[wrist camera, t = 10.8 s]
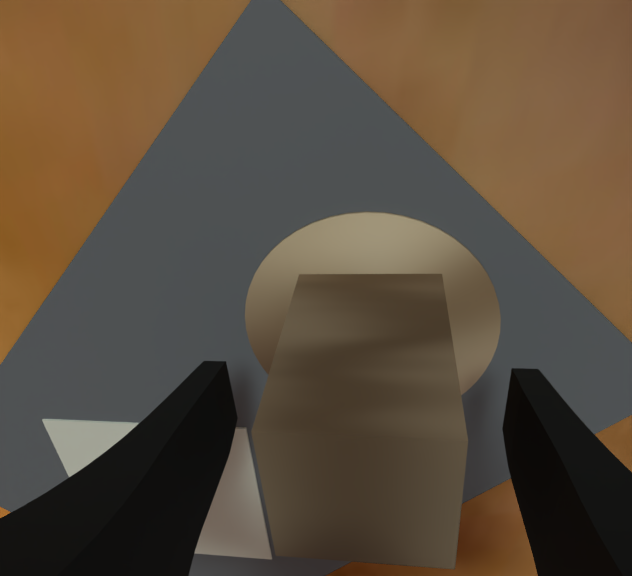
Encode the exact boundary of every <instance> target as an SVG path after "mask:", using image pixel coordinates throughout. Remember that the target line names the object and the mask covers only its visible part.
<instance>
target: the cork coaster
mask: <svg viewBox="0 0 632 576" xmlns="http://www.w3.org/2000/svg"><path fill="white" fill-rule="evenodd" d="M299 274H442V277H443V283H444V289H445V296H446V302H447V309H448V315H449V321H450V328H451V334H452V340H453V347H454V353H455V360H456V366H457V372H458V379H459V385H460V391H461V395H462V394H464V393H465V392H466V391H467V390H469V389H470V388H471V387H472V386H473V385H474V384H475V383H476V382H477V381H478V379H479V378H480V377H481V376H482V374H483V373H484V372H485V370H486V369H487V367H488V365H489V363H490V362H491V360H492V358H493V355H494V353H495V350H496V348H497V344H498V340H499V335H500V324H501V316H500V308H499V302H498V299H497V296H496V292H495V289H494V286H493V284H492V282H491V280H490V278H489V276H488V274H487V272H486V271H485V269H484V268H483V266H482V265H481V263H480V262H479V260H478V259H477V258H476V257H475V256H474V255H473V254H472V253H471V252H470V251H469V250H468V249H467V248H466V247H465V246H464V245H463V244H461V243H460V242H459V241H458V240H456V239H455V238H454V237H453V236H451V235H449V234H448V233H446V232H444V231H443V230H441V229H439V228H437V227H435V226H433V225H430V224H428V223H426V222H424V221H421V220H418V219H415V218H411V217H408V216H404V215H399V214H393V213H387V212H370V211H363V212H351V213H344V214H339V215H334V216H329V217H326V218H323V219H320V220H317V221H314V222H312V223H310V224H308V225H306V226H304V227H302V228H300V229H298V230H296V231H295V232H293V233H292V234H290V235H289V236H287V237H286V238H284V239H283V240H282V241H281V242H280V243H279V244H277V245H276V246H275V247H274V248H273V249H272V250H271V251H270V252H269V254H268V255H267V256H266V257H265V258H264V260H263V261H262V262H261V264H260V266H259V268H258V269H257V271H256V273H255V275H254V277H253V279H252V282H251V284H250V287H249V289H248V294H247V298H246V304H245V323H246V331H247V335H248V339H249V342H250V345H251V347H252V350H253V352H254V354H255V356H256V358H257V359H258V361H259V363H260V365H261V366H262V367H263V369H264V370H265V371H266V373H267V374H268V375H269V372H270V368H271V365H272V362H273V359H274V355H275V352H276V349H277V345H278V342H279V339H280V335H281V332H282V329H283V326H284V322H285V319H286V316H287V312H288V309H289V306H290V303H291V299H292V296H293V293H294V289H295V286H296V283H297V280H298V276H299Z"/></svg>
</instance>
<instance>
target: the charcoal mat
mask: <svg viewBox="0 0 632 576" xmlns="http://www.w3.org/2000/svg"><path fill="white" fill-rule="evenodd" d="M363 211H370V212H387V213H393V214H399V215H404V216H408V217H411V218H415V219H418V220H421V221H424V222H426V223H428V224H430V225H433V226H435V227H437V228H439V229H441V230H443V231H444V232H446V233H448V234H449V235H451V236H453V237H454V238H455V239H456V240H458V241H459V242H460V243H461V244H463V245H464V246H465V247H466V248H467V249H468V250H469V251H470V252H471V253H472V254H473V255H474V256H475V257H476V258H477V259H478V260H479V262H480V263H481V265H482V266H483V268H484V269H485V271H486V272H487V274H488V276H489V278H490V280H491V282H492V284H493V286H494V289H495V292H496V296H497V299H498V302H499V308H500V316H501V324H500V335H499V340H498V344H497V348H496V350H495V353H494V355H493V358H492V360H491V362H490V363H489V365H488V367H487V369H486V370H485V372H484V373H483V374H482V376H481V377H480V378H479V379H478V381H477V382H476V383H475V384H474V385H473V386H472V387H471V388H470V389H469V390H467V391H466V392H465V393H464V394H462V395H461V398H462V404H463V410H464V417H465V423H466V430H467V436H468V448H467V457H466V467H465V477H464V486H463V496H462V503H464V502H466V501H468V500H470V499H472V498H474V497H476V496H478V495H480V494H482V493H483V492H485V491H487V490H489V489H491V488H493V487H495V486H497V485H499V484H501V483H502V482H504V481H506V480H508V479H510V478H511V476H510V472H509V468H508V463H507V457H506V451H505V444H504V437H503V430H502V427H503V421H504V414H505V408H506V402H507V395H508V389H509V382H510V376H511V369H512V368H524V369H539V370H540V371H541V372H542V373H543V375H544V376H545V377H546V378H547V380H548V381H549V382H550V383H551V385H552V386H553V387H554V388H555V390H556V391H557V392H558V393H559V395H560V396H561V397H562V398H563V399H564V401H565V402H566V403H567V404H568V405H569V407H570V408H571V409H572V410H573V411H574V412H575V414H576V415H577V416H578V417H579V418H580V419H581V420H582V421H583V423H584V424H585V425H586V426H587V427H588V428H589V429H590V430H591V431H592V433H593V434H596V433H598V432H600V431H602V430H603V429H605V428H607V427H609V426H611V425H613V424H615V423H617V422H619V421H621V420H622V419H624V418H626V417H628V416H630V415H632V343H631V342H630V341H629V340H628V339H627V338H626V337H625V336H624V335H623V334H622V333H621V332H620V331H619V330H618V329H617V328H616V327H615V326H614V325H613V324H612V323H611V322H610V321H609V320H608V319H607V318H606V317H605V316H604V315H603V314H602V313H601V312H600V311H599V310H597V309H596V308H595V307H594V306H593V305H592V304H591V303H590V302H589V301H588V300H587V299H586V298H585V297H584V296H583V295H582V294H581V293H580V292H579V291H578V290H577V289H576V288H575V287H574V286H573V285H572V284H571V283H570V282H569V281H568V280H567V279H566V278H565V277H564V276H563V275H562V274H561V273H560V272H559V271H557V270H556V269H555V268H554V267H553V266H552V265H551V264H550V263H549V262H548V261H547V260H546V259H545V258H544V257H543V256H542V255H541V254H540V253H539V252H538V251H537V250H536V249H535V248H534V247H533V246H532V245H531V244H530V243H529V242H528V241H527V240H526V239H525V238H524V237H523V236H522V235H521V234H520V233H519V232H517V231H516V230H515V229H514V228H513V227H512V226H511V225H510V224H509V223H508V222H507V221H506V220H505V219H504V218H503V217H502V216H501V215H500V214H499V213H498V212H497V211H496V210H495V209H494V208H493V207H492V206H491V205H490V204H489V203H488V202H487V201H486V200H485V199H484V198H483V197H482V196H481V195H480V194H478V193H477V192H476V191H475V190H474V189H473V188H472V187H471V186H470V185H469V184H468V183H467V182H466V181H465V180H464V179H463V178H462V177H461V176H460V175H459V174H458V173H457V172H456V171H455V170H454V169H453V168H452V167H451V166H450V165H449V164H448V163H447V162H446V161H445V160H444V159H443V158H442V157H441V156H440V155H438V154H437V153H436V152H435V151H434V150H433V149H432V148H431V147H430V146H429V145H428V144H427V143H426V142H425V141H424V140H423V139H422V138H421V137H420V136H419V135H418V134H417V133H416V132H415V131H414V130H413V129H412V128H411V127H410V126H409V125H408V124H407V123H406V122H405V121H404V120H403V119H402V118H401V117H399V116H398V115H397V114H396V113H395V112H394V111H393V110H392V109H391V108H390V107H389V106H388V105H387V104H386V103H385V102H384V101H383V100H382V99H381V98H380V97H379V96H378V95H377V94H376V93H375V92H374V91H373V90H372V89H371V88H370V87H369V86H368V85H367V84H366V83H365V82H364V81H363V80H362V79H361V78H359V77H358V76H357V75H356V74H355V73H354V72H353V71H352V70H351V69H350V68H349V67H348V66H347V65H346V64H345V63H344V62H343V61H342V60H341V59H340V58H339V57H338V56H337V55H336V54H335V53H334V52H333V51H332V50H331V49H330V48H329V47H328V46H327V45H326V44H325V43H324V42H323V41H322V40H320V39H319V38H318V37H317V36H316V35H315V34H314V33H313V32H312V31H311V30H310V29H309V28H308V27H307V26H306V25H305V24H304V23H303V22H302V21H301V20H300V19H299V18H298V17H297V16H296V15H295V14H294V13H293V12H292V11H291V10H290V9H289V8H288V7H287V6H286V5H285V4H284V3H283V2H282V1H280V0H251V2H250V3H249V4H248V6H247V7H246V9H245V10H244V12H243V13H242V15H241V16H240V18H239V19H238V20H237V22H236V23H235V25H234V26H233V28H232V29H231V31H230V32H229V34H228V35H227V36H226V38H225V39H224V41H223V42H222V44H221V45H220V47H219V48H218V49H217V51H216V52H215V54H214V55H213V57H212V58H211V60H210V61H209V63H208V64H207V65H206V67H205V68H204V70H203V71H202V73H201V74H200V76H199V77H198V79H197V80H196V81H195V83H194V84H193V86H192V87H191V89H190V90H189V92H188V93H187V95H186V96H185V97H184V99H183V100H182V102H181V103H180V105H179V106H178V108H177V109H176V111H175V112H174V113H173V115H172V116H171V118H170V119H169V121H168V122H167V124H166V125H165V127H164V128H163V129H162V131H161V132H160V134H159V135H158V137H157V138H156V140H155V141H154V143H153V144H152V145H151V147H150V148H149V150H148V151H147V153H146V154H145V156H144V157H143V158H142V160H141V161H140V163H139V164H138V166H137V167H136V169H135V170H134V172H133V173H132V174H131V176H130V177H129V179H128V180H127V182H126V183H125V185H124V186H123V188H122V189H121V190H120V192H119V193H118V195H117V196H116V198H115V199H114V201H113V202H112V204H111V205H110V206H109V208H108V209H107V211H106V212H105V214H104V215H103V217H102V218H101V220H100V221H99V222H98V224H97V225H96V227H95V228H94V230H93V231H92V233H91V234H90V236H89V237H88V238H87V240H86V241H85V243H84V244H83V246H82V247H81V249H80V250H79V252H78V253H77V254H76V256H75V257H74V259H73V260H72V262H71V263H70V265H69V266H68V267H67V269H66V270H65V272H64V273H63V275H62V276H61V278H60V279H59V281H58V282H57V283H56V285H55V286H54V288H53V289H52V291H51V292H50V294H49V295H48V297H47V298H46V299H45V301H44V302H43V304H42V305H41V307H40V308H39V310H38V311H37V313H36V314H35V315H34V317H33V318H32V320H31V321H30V323H29V324H28V326H27V327H26V329H25V330H24V331H23V333H22V334H21V336H20V337H19V339H18V340H17V342H16V343H15V345H14V346H13V347H12V349H11V350H10V352H9V353H8V355H7V356H6V358H5V359H4V361H3V362H2V363H1V365H0V506H1V507H2V508H4V509H6V510H8V511H10V512H13V511H15V510H17V509H18V508H20V507H22V506H24V505H26V504H27V503H29V502H31V501H32V500H34V499H36V498H38V497H39V496H41V495H43V494H44V493H46V492H48V491H49V490H51V489H52V488H54V487H55V486H57V485H58V484H60V483H61V482H63V481H64V480H66V479H67V478H69V476H68V474H67V472H66V470H65V468H64V466H63V463H62V461H61V459H60V457H59V455H58V453H57V451H56V449H55V447H54V444H53V442H52V440H51V438H50V436H49V434H48V432H47V430H46V428H45V426H44V423H43V421H42V420H43V419H62V420H85V421H109V422H132V423H140V422H141V421H142V420H144V419H145V418H146V417H147V416H148V415H149V414H150V413H151V412H152V411H153V410H154V409H155V408H156V407H157V406H158V405H160V404H161V403H162V402H163V401H164V400H165V399H166V398H167V397H168V396H169V395H170V394H171V393H172V392H173V391H174V390H175V389H176V388H177V387H178V386H179V385H180V384H181V383H182V382H183V381H184V380H185V379H186V378H187V377H188V376H189V375H190V374H191V373H192V372H193V371H194V370H195V369H196V368H197V367H198V366H199V365H200V364H201V363H202V362H203V361H226V364H227V369H228V373H229V378H230V383H231V388H232V393H233V398H234V402H235V407H236V412H237V417H238V419H237V424H236V427H246V428H247V433H248V438H249V443H250V448H251V453H252V459H253V464H254V469H255V474H256V479H257V484H258V489H259V494H260V499H261V504H262V509H263V514H264V519H265V524H266V529H267V534H268V539H269V544H270V549H271V555H272V560H270V559H258V558H245V557H233V556H220V555H208V554H195V553H194V557H193V561H192V564H191V568H190V572H189V576H325V575H327V574H329V573H331V572H333V571H335V570H337V569H339V568H341V567H342V566H344V565H346V564H348V563H350V562H351V561H338V560H325V559H312V558H299V557H285V556H276V554H275V549H274V544H273V539H272V534H271V529H270V524H269V519H268V514H267V509H266V504H265V499H264V494H263V489H262V484H261V479H260V474H259V469H258V464H257V458H256V453H255V448H254V443H253V438H252V433H251V431H252V428H253V424H254V421H255V418H256V414H257V411H258V408H259V405H260V401H261V398H262V395H263V391H264V388H265V385H266V382H267V378H268V374H267V373H266V371H265V370H264V369H263V367H262V366H261V365H260V363H259V361H258V359H257V358H256V356H255V354H254V352H253V350H252V347H251V345H250V342H249V339H248V335H247V331H246V323H245V304H246V298H247V294H248V289H249V287H250V284H251V282H252V279H253V277H254V275H255V273H256V271H257V269H258V268H259V266H260V264H261V262H262V261H263V260H264V258H265V257H266V256H267V255H268V254H269V252H270V251H271V250H272V249H273V248H274V247H275V246H276V245H277V244H279V243H280V242H281V241H282V240H283V239H284V238H286V237H287V236H289V235H290V234H292V233H293V232H295V231H296V230H298V229H300V228H302V227H304V226H306V225H308V224H310V223H312V222H314V221H317V220H320V219H323V218H326V217H329V216H334V215H339V214H344V213H351V212H363Z"/></svg>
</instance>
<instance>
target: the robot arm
mask: <svg viewBox="0 0 632 576" xmlns="http://www.w3.org/2000/svg"><path fill="white" fill-rule="evenodd" d="M237 419H238V417H237V412H236V407H235V402H234V398H233V393H232V388H231V383H230V378H229V373H228V369H227V364H226V361H203V362H202V363H201V364H200V365H199V366H198V367H197V368H196V369H195V370H194V371H193V372H192V373H191V374H190V375H189V376H188V377H187V378H186V379H185V380H184V381H183V382H182V383H181V384H180V385H179V386H178V387H177V388H176V389H175V390H174V391H173V392H172V393H171V394H170V395H169V396H168V397H167V398H166V399H165V400H164V401H163V402H162V403H161V404H160V405H158V406H157V407H156V408H155V409H154V410H153V411H152V412H151V413H150V414H149V415H148V416H147V417H146V418H145V419H144V420H142V421H141V422H140V423H139V424H138V425H137V426H136V427H134V428H133V429H132V430H131V431H130V432H129V433H128V434H126V435H125V436H124V437H123V438H122V439H121V440H119V441H118V442H117V443H116V444H115V445H113V446H112V447H111V448H109V449H108V450H107V451H106V452H104V453H103V454H102V455H100V456H99V457H98V458H96V459H95V460H94V461H92V462H91V463H90V464H88V465H87V466H85V467H84V468H83V469H81V470H80V471H78V472H77V473H75V474H74V475H72V476H70V477H69V478H67V479H66V480H64V481H63V482H61V483H60V484H58V485H57V486H55V487H54V488H52V489H51V490H49V491H48V492H46V493H44V494H43V495H41V496H39V497H38V498H36V499H34V500H32V501H31V502H29V503H27V504H26V505H24V506H22V507H20V508H18V509H17V510H15V511H13V512H11V513H9V514H8V515H6V516H4V517H2V518H0V576H189V572H190V568H191V564H192V561H193V557H194V553H195V549H196V546H197V543H198V540H199V537H200V534H201V531H202V528H203V525H204V522H205V520H206V517H207V514H208V512H209V509H210V506H211V504H212V501H213V498H214V495H215V493H216V490H217V487H218V485H219V482H220V479H221V476H222V474H223V471H224V468H225V465H226V463H227V460H228V457H229V454H230V450H231V446H232V442H233V438H234V433H235V429H236V424H237ZM502 430H503V437H504V444H505V451H506V457H507V463H508V468H509V472H510V476H511V479H512V483H513V486H514V490H515V494H516V497H517V501H518V504H519V508H520V511H521V515H522V518H523V522H524V525H525V529H526V532H527V536H528V539H529V543H530V546H531V550H532V553H533V557H534V561H535V565H536V569H537V574H538V576H632V472H631V471H630V470H629V469H628V468H626V467H625V466H624V465H623V464H622V463H621V462H620V461H619V460H618V459H617V458H616V457H615V456H614V455H613V454H612V453H611V452H610V451H609V450H608V449H607V448H606V446H605V445H604V444H603V443H602V442H601V441H600V440H599V439H598V438H597V437H596V436H595V435H594V434H593V433H592V431H591V430H590V429H589V428H588V427H587V426H586V425H585V424H584V423H583V421H582V420H581V419H580V418H579V417H578V416H577V415H576V414H575V412H574V411H573V410H572V409H571V408H570V407H569V405H568V404H567V403H566V402H565V401H564V399H563V398H562V397H561V396H560V395H559V393H558V392H557V391H556V390H555V388H554V387H553V386H552V385H551V383H550V382H549V381H548V380H547V378H546V377H545V376H544V375H543V373H542V372H541V371H540V370H539V369H524V368H512V369H511V376H510V382H509V389H508V395H507V402H506V408H505V414H504V421H503V427H502Z"/></svg>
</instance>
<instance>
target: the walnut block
mask: <svg viewBox="0 0 632 576" xmlns="http://www.w3.org/2000/svg"><path fill="white" fill-rule="evenodd" d="M251 433H252V438H253V443H254V448H255V453H256V458H257V464H258V469H259V474H260V479H261V484H262V489H263V494H264V499H265V504H266V509H267V514H268V519H269V524H270V529H271V534H272V539H273V544H274V549H275V554H276V556H285V557H299V558H312V559H325V560H338V561H351V562H365V563H378V564H391V565H404V566H417V567H430V568H443V569H455V563H456V554H457V544H458V534H459V525H460V515H461V506H462V496H463V486H464V477H465V467H466V457H467V448H468V436H467V430H466V423H465V417H464V410H463V404H462V398H461V391H460V385H459V379H458V372H457V366H456V360H455V353H454V347H453V340H452V334H451V328H450V321H449V315H448V309H447V302H446V296H445V289H444V283H443V277H442V274H299V276H298V280H297V283H296V286H295V289H294V293H293V296H292V299H291V303H290V306H289V309H288V312H287V316H286V319H285V322H284V326H283V329H282V332H281V335H280V339H279V342H278V345H277V349H276V352H275V355H274V359H273V362H272V365H271V368H270V372H269V375H268V378H267V382H266V385H265V388H264V391H263V395H262V398H261V401H260V405H259V408H258V411H257V414H256V418H255V421H254V424H253V428H252V431H251Z"/></svg>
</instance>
